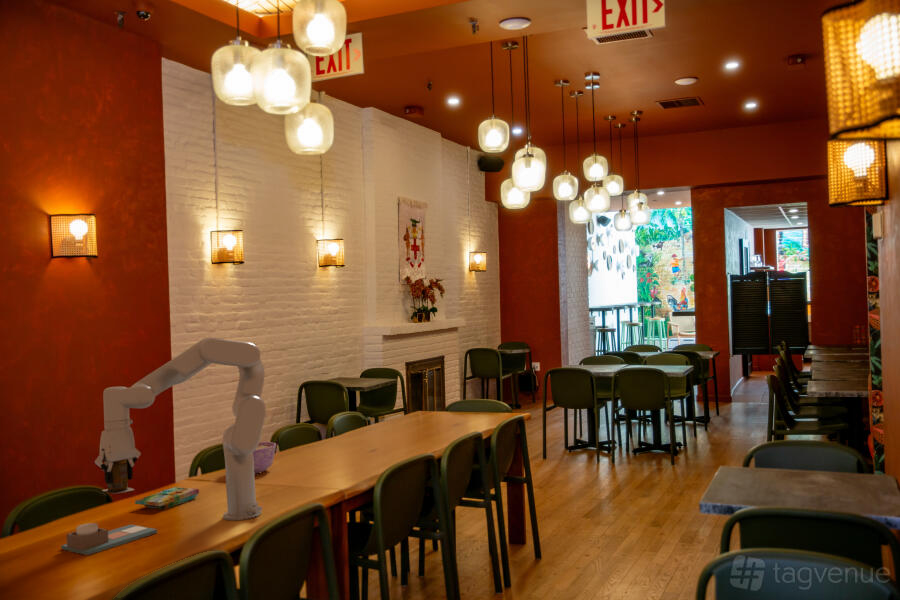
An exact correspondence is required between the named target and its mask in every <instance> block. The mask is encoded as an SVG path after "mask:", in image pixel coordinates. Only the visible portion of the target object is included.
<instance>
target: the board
mask: <svg viewBox="0 0 900 600" xmlns="http://www.w3.org/2000/svg"><path fill="white" fill-rule="evenodd" d="M154 533H156V534H158V529H157V528H153V527H152V528H151V527H145V526H142V525H138V524H137V525H136V524H127V525H125V526H122V527H118V528H115V529H114V528H113V529H111V530H108V529H106V528H105V529H104V528H102V527H98V532H97V533H93V534H90V535H87V536H83V537H82V536H78V535H77V534H76V531H72V532H69V533H66V543H65V544H63V545H61V546H60V548H61V549H64V550H63V551H66V550H68V551H67V552H70V551H72V552H71V553H74V552H76V553H75V554H78V553H81V554H80V555H82V554H85V555H84V556H86V555H88V556H90V555H89V554H91V555H93V554H92V553H94V554H96V553H95V552H97V553H100V552H103V551H102V550H104V551H106V550H105V549H107V550H109V548H110V549H113V548H116V547H118V546H121V545H124V544H128V543H131V542H133V540H134V541H137V540H140V539H143V538H146V536H147V537H149V535H150V536H152V535H151V534H153V535H155V534H154ZM142 537H143V538H142ZM139 538H140V539H139ZM130 541H131V542H130ZM127 542H128V543H127ZM115 546H116V547H115ZM112 547H113V548H112ZM99 551H100V552H99Z"/></svg>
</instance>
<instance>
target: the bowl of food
mask: <svg viewBox="0 0 900 600" xmlns="http://www.w3.org/2000/svg"><path fill="white" fill-rule="evenodd" d="M276 447H277V443H275V442H271V441H270V442H269V441H259V444H258V446H257V448H256V450H255V451H254V452H253V459H254V475H257V474H256V473H260V472H263V471H266V470H268V469H269V468H270V467H271V466H272V465H273V462H274V459H275V458H274V457H275V453H276ZM263 473H264V472H263ZM260 474H261V473H260Z"/></svg>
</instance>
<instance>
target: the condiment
mask: <svg viewBox="0 0 900 600" xmlns="http://www.w3.org/2000/svg"><path fill="white" fill-rule="evenodd" d="M111 471H112V472H113V484H107V483H106V484H107V488H106V489H102V490H101V491H103V492H105V493H109V494H112V495H113V494H122V493H127V492H131V491H135V490H136V489H134V488H132V487H128V484H129V479H128V474H127V461H126V460H121V461H117V462H113V465H112V468H111Z"/></svg>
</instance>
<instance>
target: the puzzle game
mask: <svg viewBox="0 0 900 600" xmlns="http://www.w3.org/2000/svg"><path fill="white" fill-rule="evenodd" d="M199 493H200V489H199V488H190V487H189V488H188V487H179V486H178V487H176V486H175V487H171V488H169V489H164V490H162V491H160V492H157V493H154V494H150V495H147V496H145V497H141V498H139V499H135V500H134V503H135V505H142V506H144V507H145V508H146V507H148V508H147V509H156V508H158V509H159V510H168V509H170V508H173V507H175V505H176V506H179V505H181V503H182V504H183V503H186V502H190V501H192V499H193V500H196V497H198V495H199ZM189 500H190V501H189ZM178 504H179V505H178ZM172 506H173V507H172Z"/></svg>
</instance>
